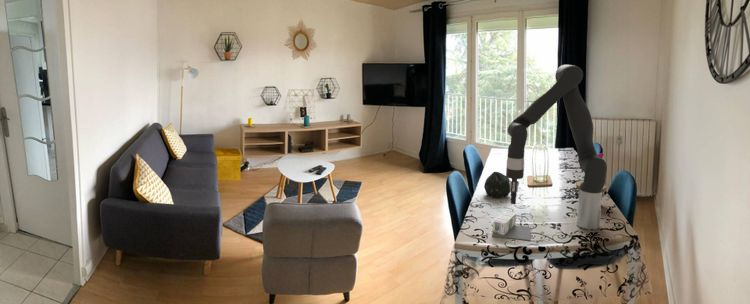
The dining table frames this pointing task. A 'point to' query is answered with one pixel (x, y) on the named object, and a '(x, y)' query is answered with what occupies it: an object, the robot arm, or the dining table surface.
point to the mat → (516, 233)
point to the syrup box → (504, 223)
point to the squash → (497, 185)
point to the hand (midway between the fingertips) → (513, 203)
